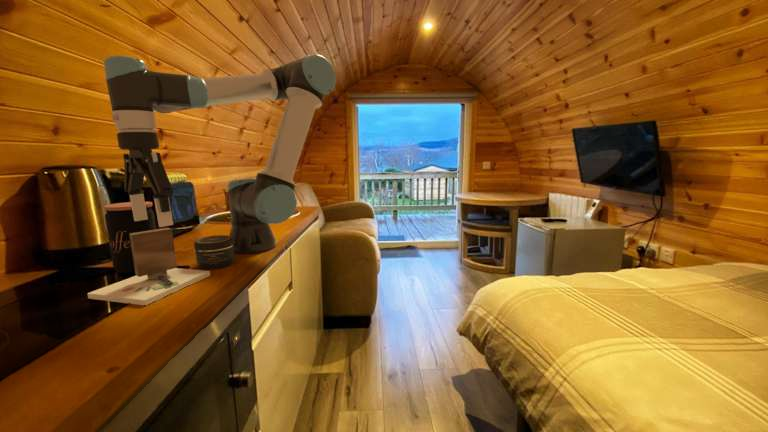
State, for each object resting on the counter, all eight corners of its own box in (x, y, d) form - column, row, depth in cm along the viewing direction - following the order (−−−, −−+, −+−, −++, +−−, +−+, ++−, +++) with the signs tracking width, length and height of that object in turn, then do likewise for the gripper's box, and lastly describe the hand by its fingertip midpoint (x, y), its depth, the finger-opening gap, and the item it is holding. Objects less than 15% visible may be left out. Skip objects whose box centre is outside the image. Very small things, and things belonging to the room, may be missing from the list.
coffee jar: (104, 272, 90) (92, 206, 87) (142, 260, 100) (133, 200, 97) (133, 275, 87) (122, 207, 83) (169, 263, 97) (161, 202, 93)
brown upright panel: (135, 279, 80) (128, 233, 78) (172, 270, 86) (167, 227, 84) (150, 291, 73) (143, 240, 71) (190, 280, 79) (184, 233, 77)
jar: (237, 266, 93) (234, 240, 92) (196, 273, 88) (193, 245, 87) (233, 257, 102) (231, 233, 100) (196, 262, 97) (193, 237, 96)
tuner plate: (160, 270, 90) (160, 266, 90) (210, 275, 86) (209, 270, 86) (88, 298, 73) (87, 292, 73) (146, 305, 69) (145, 299, 69)
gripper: (97, 134, 79) (114, 220, 83) (141, 128, 65) (159, 232, 70) (133, 134, 85) (148, 215, 89) (181, 129, 71) (195, 225, 76)
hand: (153, 223), depth 80 cm, fingers open, 13 cm apart
